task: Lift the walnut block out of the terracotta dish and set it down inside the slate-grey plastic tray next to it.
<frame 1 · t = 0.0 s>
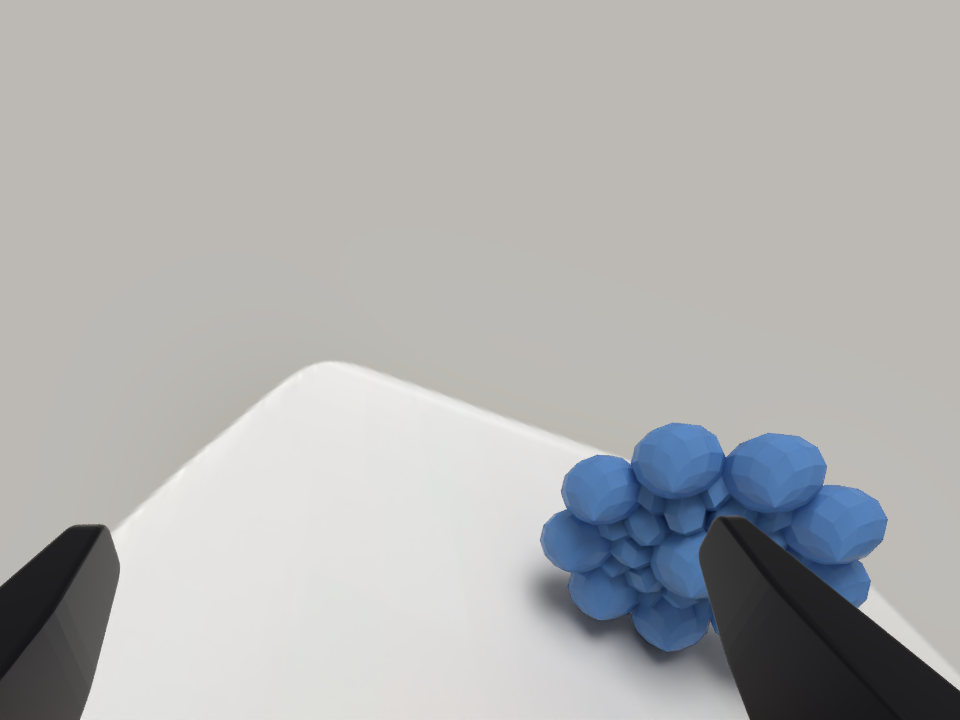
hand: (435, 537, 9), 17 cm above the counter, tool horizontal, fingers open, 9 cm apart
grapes: (653, 618, 28), on the counter
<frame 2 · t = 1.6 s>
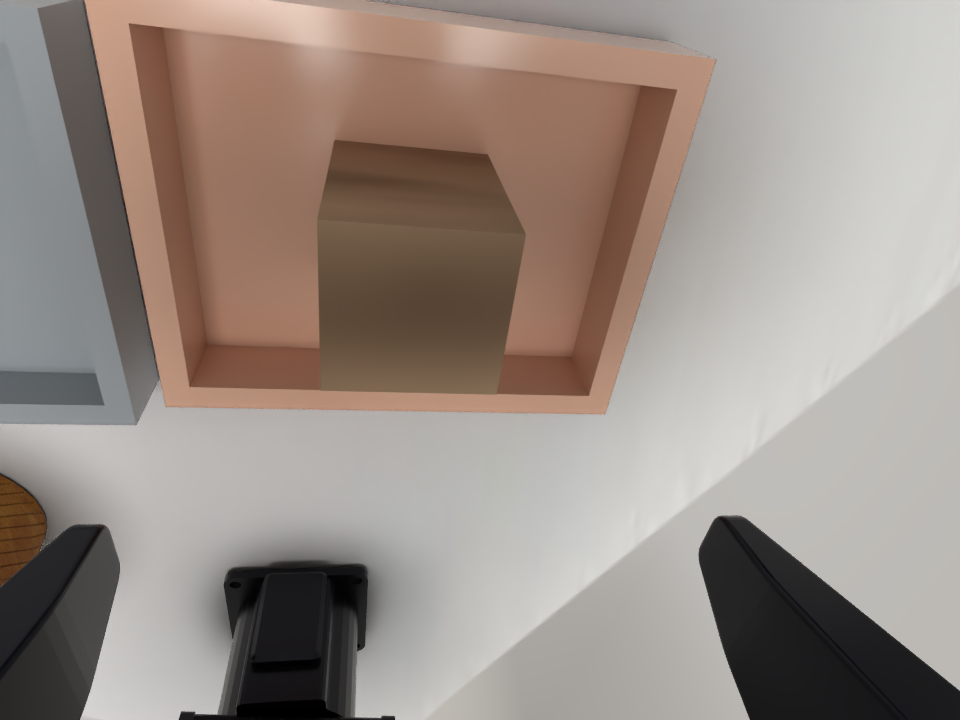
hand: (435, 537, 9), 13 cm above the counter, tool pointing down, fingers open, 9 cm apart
dish: (407, 212, 20), on the counter
block: (408, 219, 19), point 1 cm above the counter, touching dish
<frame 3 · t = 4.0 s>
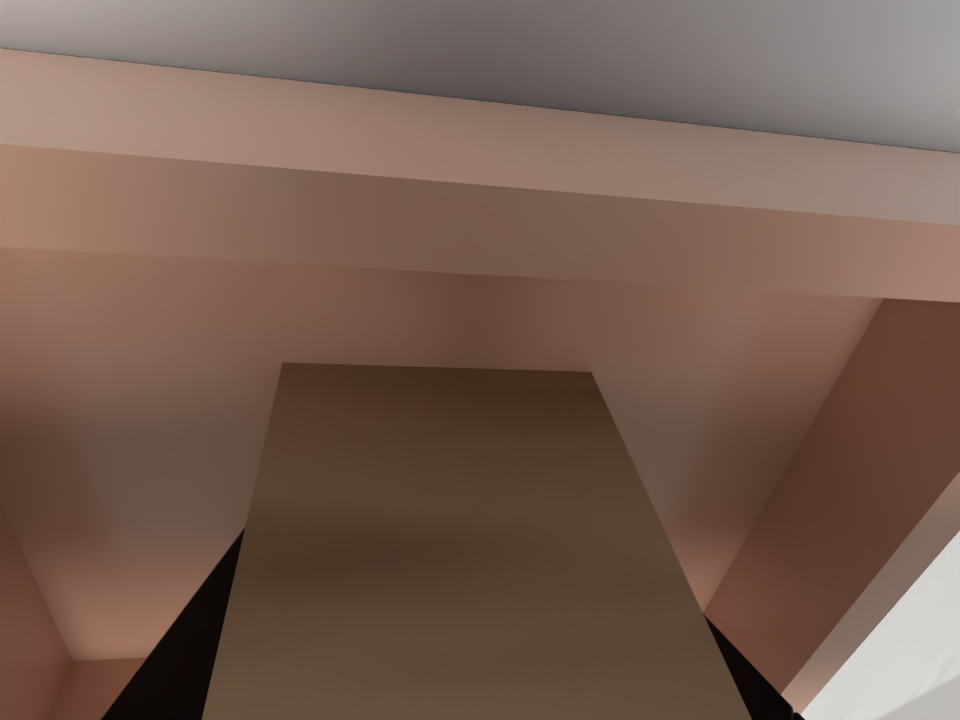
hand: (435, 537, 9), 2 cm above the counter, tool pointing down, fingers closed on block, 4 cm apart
dish: (428, 451, 11), on the counter
block: (430, 477, 10), point 1 cm above the counter, touching dish, gripper
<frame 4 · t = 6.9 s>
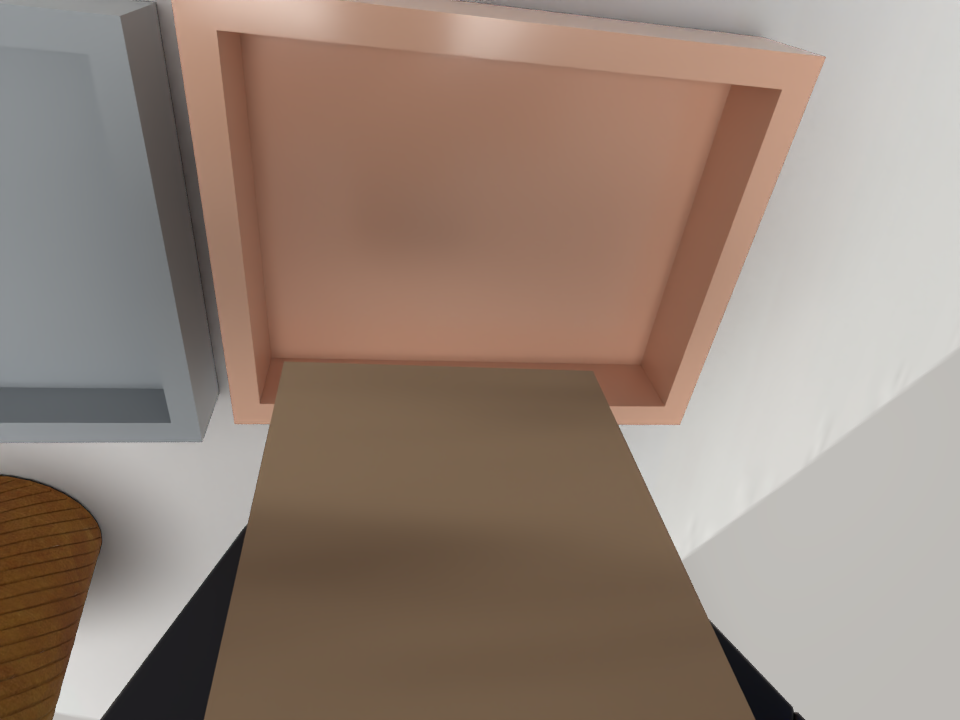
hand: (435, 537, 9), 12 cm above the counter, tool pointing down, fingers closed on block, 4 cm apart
disposable coffee cup: (15, 526, 24), on the counter
dish: (479, 219, 19), on the counter
block: (432, 476, 10), point 11 cm above the counter, touching gripper
tray: (24, 226, 17), on the counter
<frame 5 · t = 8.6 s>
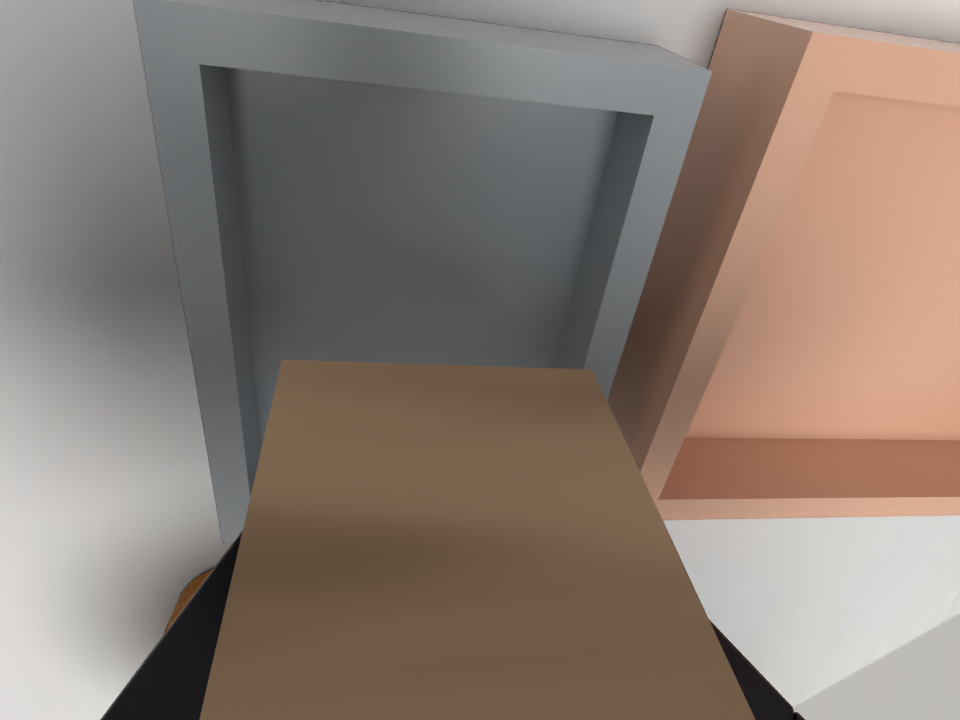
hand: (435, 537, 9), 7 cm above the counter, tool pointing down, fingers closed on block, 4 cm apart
disposable coffee cup: (274, 606, 22), on the counter
dish: (894, 287, 17), on the counter
block: (430, 475, 10), point 6 cm above the counter, touching gripper
tray: (413, 295, 15), on the counter
when the fingers open (4 cm above the counter, at t = 10.0 s): block drops 2 cm, resting on tray.
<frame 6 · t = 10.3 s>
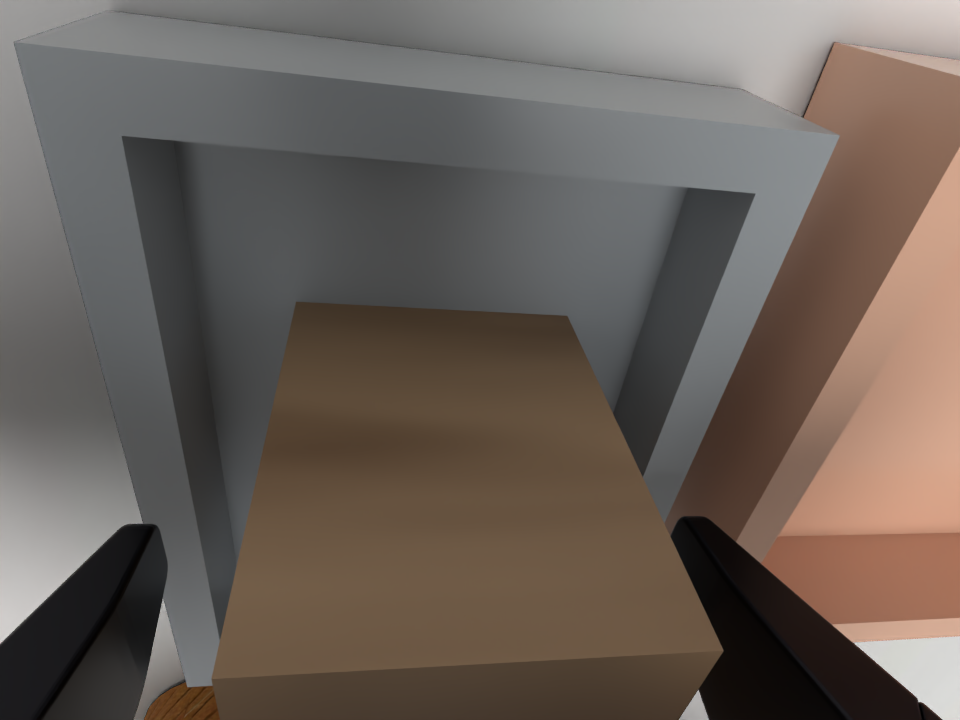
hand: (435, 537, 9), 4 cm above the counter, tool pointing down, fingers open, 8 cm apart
disposable coffee cup: (258, 713, 19), on the counter
block: (425, 413, 11), point 1 cm above the counter, touching tray
tray: (422, 388, 12), on the counter
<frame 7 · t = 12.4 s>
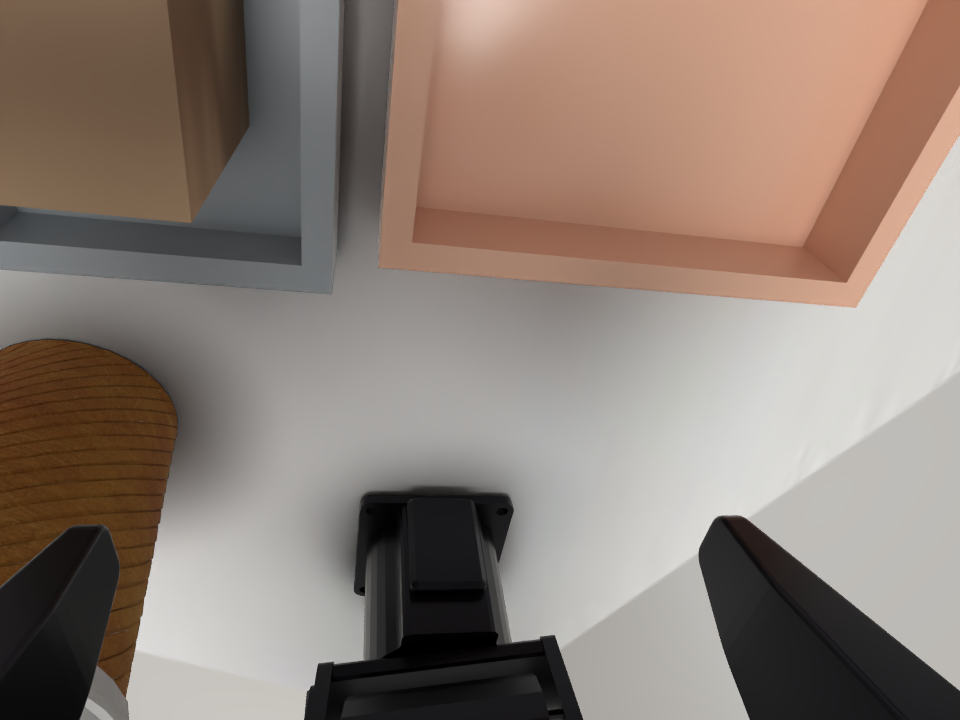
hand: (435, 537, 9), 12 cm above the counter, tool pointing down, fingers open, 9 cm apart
disposable coffee cup: (82, 409, 21), on the counter
dish: (665, 47, 17), on the counter
block: (140, 11, 14), point 1 cm above the counter, touching tray
tray: (150, 8, 15), on the counter
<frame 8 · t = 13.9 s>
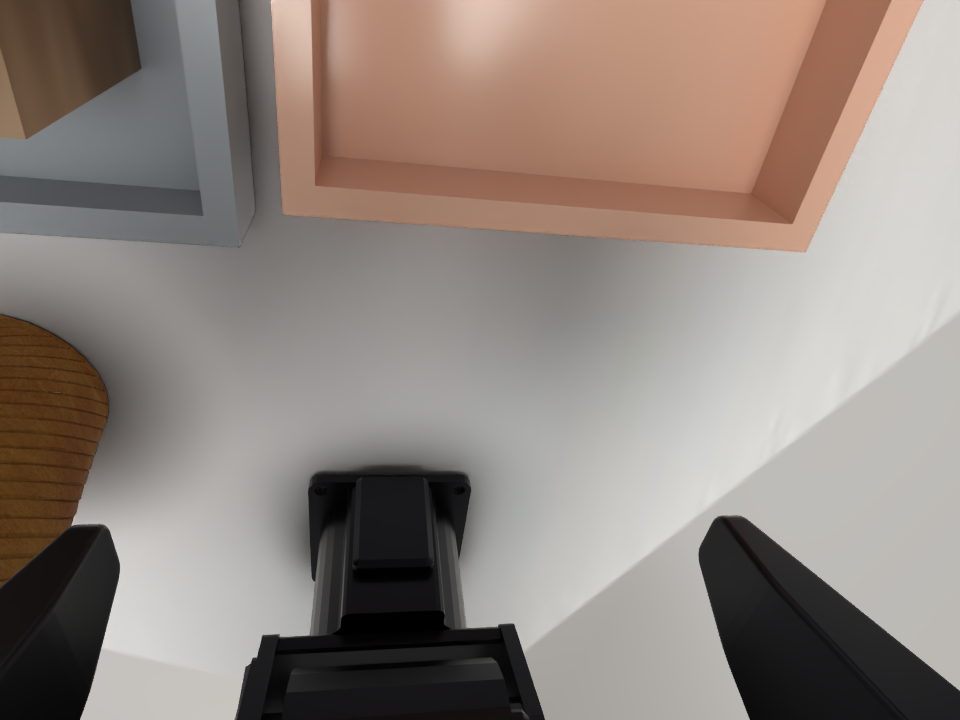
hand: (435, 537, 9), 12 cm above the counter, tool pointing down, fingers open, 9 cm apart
disposable coffee cup: (8, 387, 21), on the counter
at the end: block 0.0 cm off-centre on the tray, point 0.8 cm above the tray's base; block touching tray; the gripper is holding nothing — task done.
